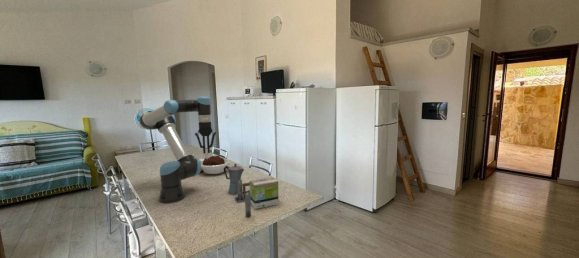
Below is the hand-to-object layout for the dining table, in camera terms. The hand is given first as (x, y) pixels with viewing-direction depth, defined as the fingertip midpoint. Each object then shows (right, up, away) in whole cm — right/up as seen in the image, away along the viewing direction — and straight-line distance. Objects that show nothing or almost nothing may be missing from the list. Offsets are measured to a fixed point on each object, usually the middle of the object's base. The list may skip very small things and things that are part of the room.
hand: (206, 158), depth 157 cm
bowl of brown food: (-12, -19, +57) cm, 61 cm away
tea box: (+37, -27, -7) cm, 47 cm away
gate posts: (+26, -28, -11) cm, 39 cm away
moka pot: (+15, -25, +12) cm, 31 cm away
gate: (+31, -24, +3) cm, 40 cm away
